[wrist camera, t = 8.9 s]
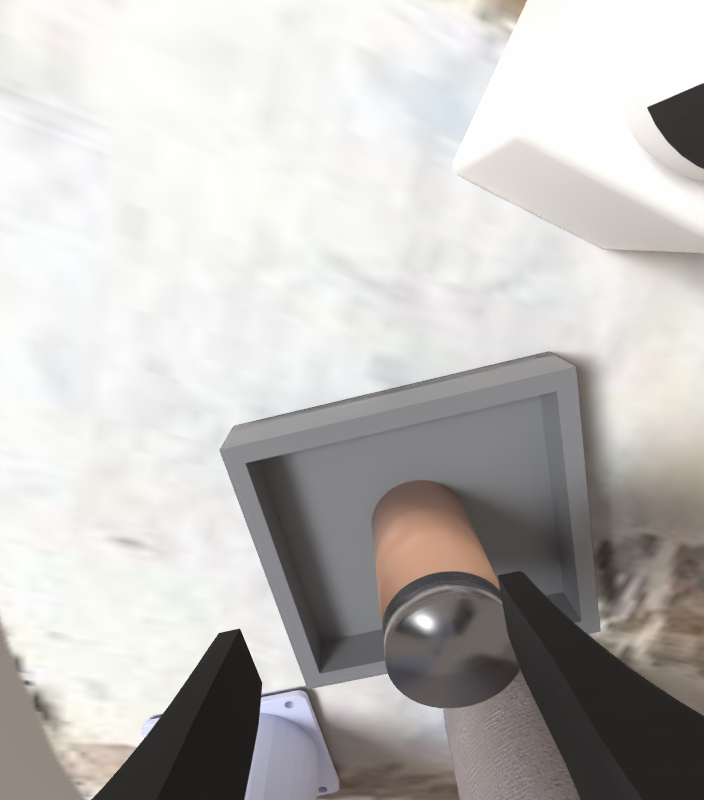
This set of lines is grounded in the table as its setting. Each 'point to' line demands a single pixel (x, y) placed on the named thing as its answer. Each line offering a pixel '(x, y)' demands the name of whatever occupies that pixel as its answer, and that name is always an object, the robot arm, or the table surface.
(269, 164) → the table surface
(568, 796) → the pillar candle
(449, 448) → the tray
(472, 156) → the medicine bottle
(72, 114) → the table surface
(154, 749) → the robot arm
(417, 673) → the salt shaker
